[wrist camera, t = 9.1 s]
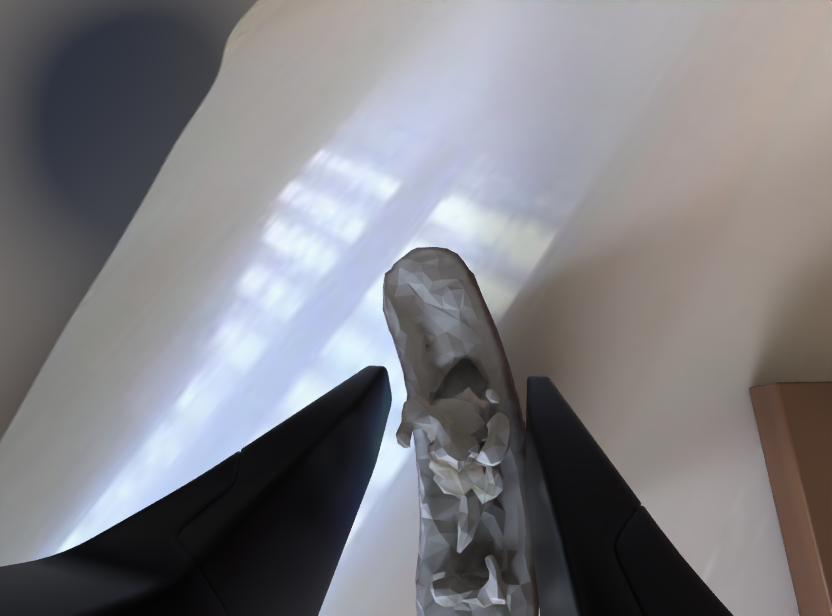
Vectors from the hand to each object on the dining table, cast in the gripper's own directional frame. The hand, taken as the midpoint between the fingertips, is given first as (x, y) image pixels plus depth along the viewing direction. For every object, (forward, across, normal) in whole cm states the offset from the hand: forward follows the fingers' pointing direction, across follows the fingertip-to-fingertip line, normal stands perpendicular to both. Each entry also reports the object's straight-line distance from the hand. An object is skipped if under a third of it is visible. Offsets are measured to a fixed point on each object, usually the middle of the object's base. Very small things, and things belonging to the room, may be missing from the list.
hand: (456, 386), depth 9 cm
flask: (+6, 0, +7) cm, 9 cm away
